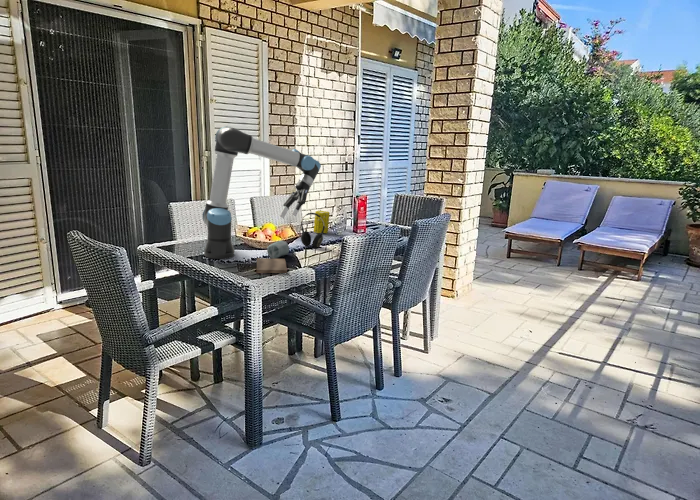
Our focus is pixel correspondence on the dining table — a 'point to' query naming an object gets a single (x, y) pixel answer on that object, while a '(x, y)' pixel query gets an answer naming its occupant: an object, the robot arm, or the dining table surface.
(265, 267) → the stand
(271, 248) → the grey rounded cylinder
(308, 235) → the headphones
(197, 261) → the dining table surface
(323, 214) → the food
